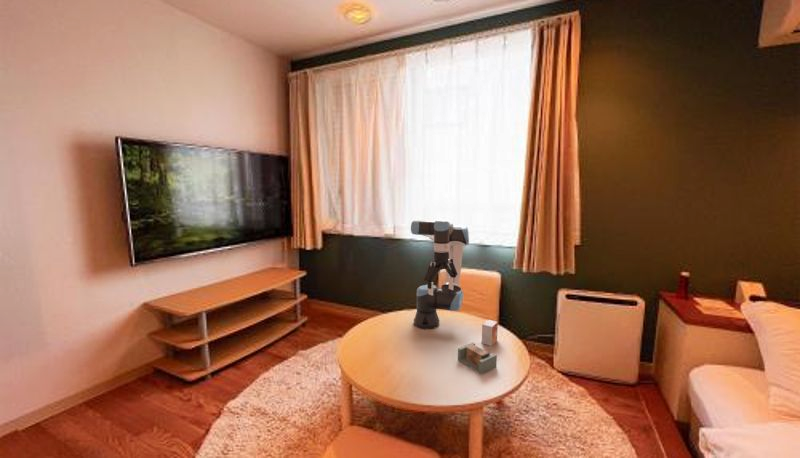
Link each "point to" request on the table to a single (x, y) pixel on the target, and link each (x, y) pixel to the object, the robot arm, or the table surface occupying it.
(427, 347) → the table surface
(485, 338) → the small box
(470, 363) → the bracket
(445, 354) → the table surface
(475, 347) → the rail end
